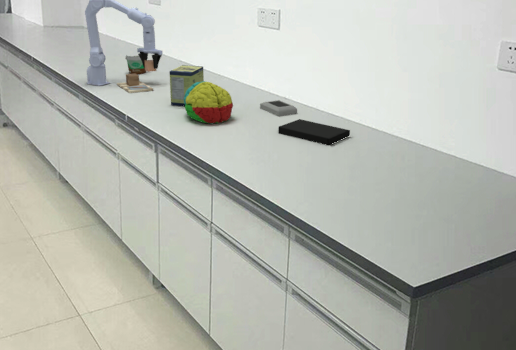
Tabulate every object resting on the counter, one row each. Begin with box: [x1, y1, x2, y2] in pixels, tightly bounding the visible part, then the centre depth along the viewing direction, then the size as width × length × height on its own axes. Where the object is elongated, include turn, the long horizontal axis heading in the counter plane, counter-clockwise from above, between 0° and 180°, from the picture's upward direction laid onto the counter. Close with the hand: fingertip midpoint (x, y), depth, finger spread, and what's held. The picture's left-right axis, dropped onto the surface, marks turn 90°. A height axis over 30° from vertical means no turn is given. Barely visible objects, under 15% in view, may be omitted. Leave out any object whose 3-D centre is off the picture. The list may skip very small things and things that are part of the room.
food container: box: [125, 54, 149, 76], centre depth 330 cm, size 12×6×10 cm, turn 105°
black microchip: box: [277, 118, 351, 146], centre depth 229 cm, size 14×23×3 cm, turn 51°
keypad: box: [259, 99, 298, 117], centre depth 261 cm, size 10×4×15 cm
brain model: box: [184, 80, 234, 124], centre depth 248 cm, size 24×19×15 cm
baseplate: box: [116, 73, 154, 94], centre depth 299 cm, size 20×12×6 cm, turn 30°
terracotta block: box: [144, 59, 157, 73], centre depth 305 cm, size 4×4×5 cm
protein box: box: [169, 64, 205, 107], centre depth 271 cm, size 10×16×16 cm
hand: (150, 67), depth 305 cm, fingers closed on terracotta block, 6 cm apart
